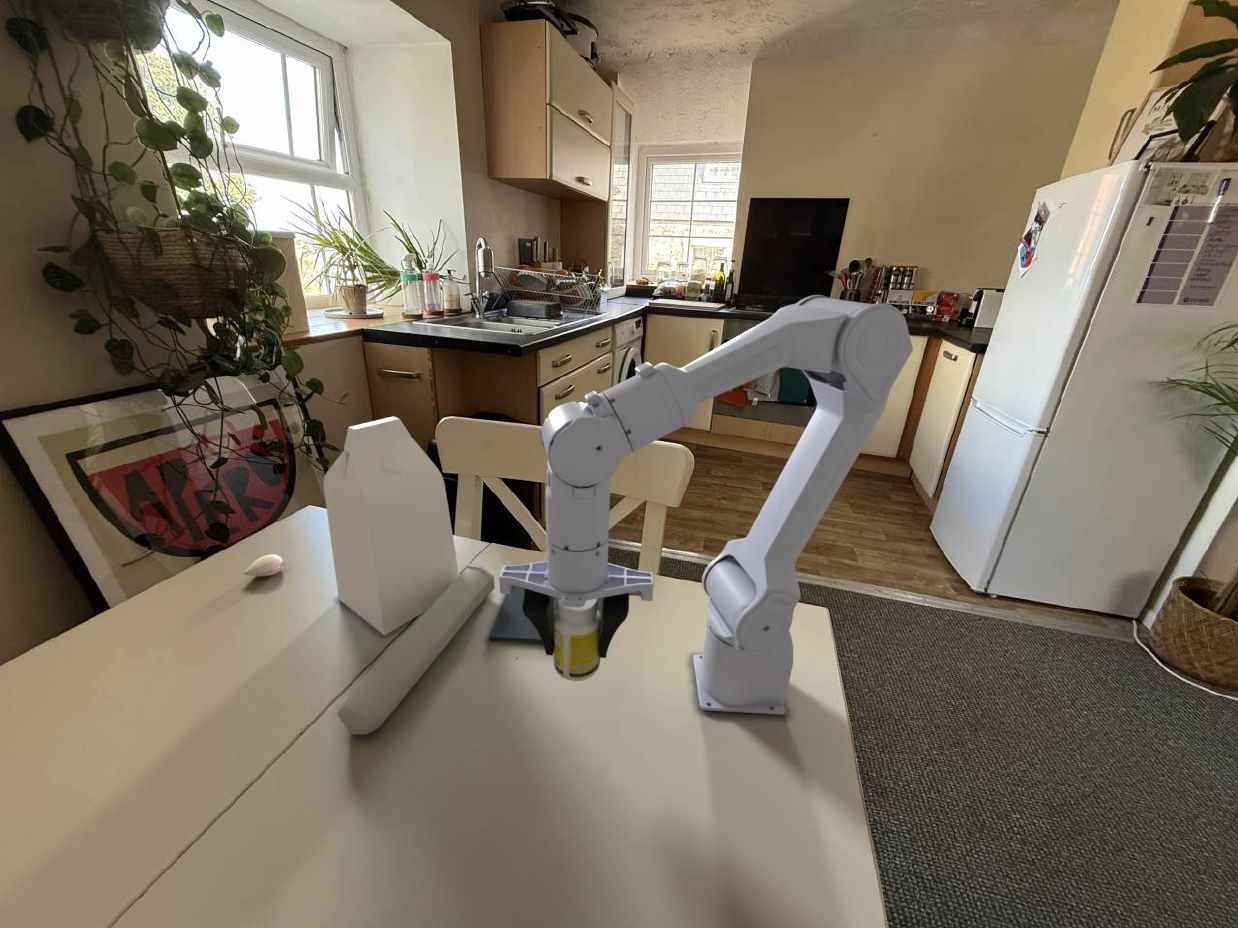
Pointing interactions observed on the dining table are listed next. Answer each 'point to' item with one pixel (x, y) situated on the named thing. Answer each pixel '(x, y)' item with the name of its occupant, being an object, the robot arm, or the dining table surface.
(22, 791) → the dining table surface
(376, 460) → the milk
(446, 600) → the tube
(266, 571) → the white garlic clove
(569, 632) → the supplement bottle
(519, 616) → the mat
